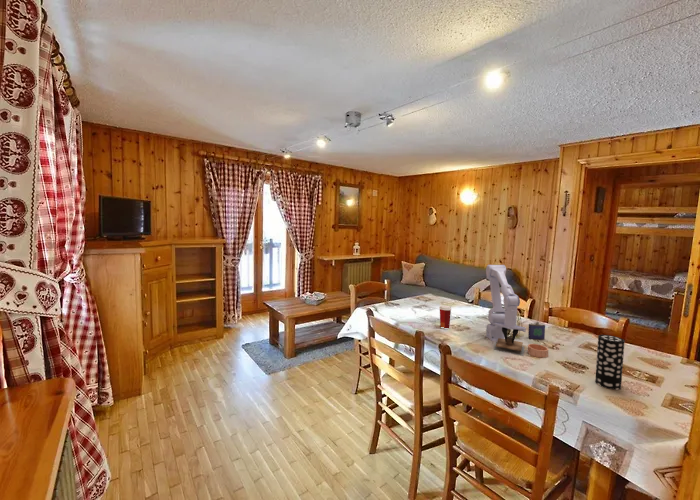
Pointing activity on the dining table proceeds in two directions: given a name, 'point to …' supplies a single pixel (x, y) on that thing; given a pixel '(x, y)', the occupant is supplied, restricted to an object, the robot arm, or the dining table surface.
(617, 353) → the white-spotted black cylinder
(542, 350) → the bowl
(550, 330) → the dining table surface
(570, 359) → the dining table surface
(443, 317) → the pint of red drink
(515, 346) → the lid
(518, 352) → the mat
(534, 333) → the flask
